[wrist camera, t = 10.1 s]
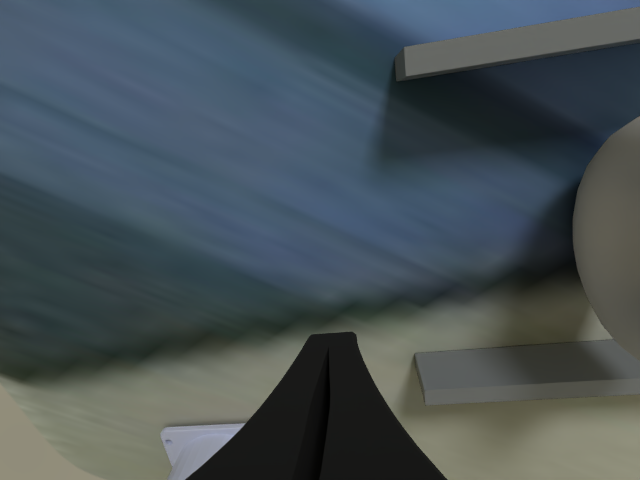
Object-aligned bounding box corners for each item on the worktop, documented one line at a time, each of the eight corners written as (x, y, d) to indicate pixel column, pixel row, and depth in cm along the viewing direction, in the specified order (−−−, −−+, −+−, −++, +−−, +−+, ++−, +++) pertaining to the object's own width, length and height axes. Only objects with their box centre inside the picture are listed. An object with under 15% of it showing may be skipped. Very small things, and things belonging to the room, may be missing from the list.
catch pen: (773, 343, 19) (844, 383, 17) (415, 366, 22) (425, 405, 19) (894, -27, 14) (1034, -61, 11) (394, 57, 16) (404, 46, 13)
